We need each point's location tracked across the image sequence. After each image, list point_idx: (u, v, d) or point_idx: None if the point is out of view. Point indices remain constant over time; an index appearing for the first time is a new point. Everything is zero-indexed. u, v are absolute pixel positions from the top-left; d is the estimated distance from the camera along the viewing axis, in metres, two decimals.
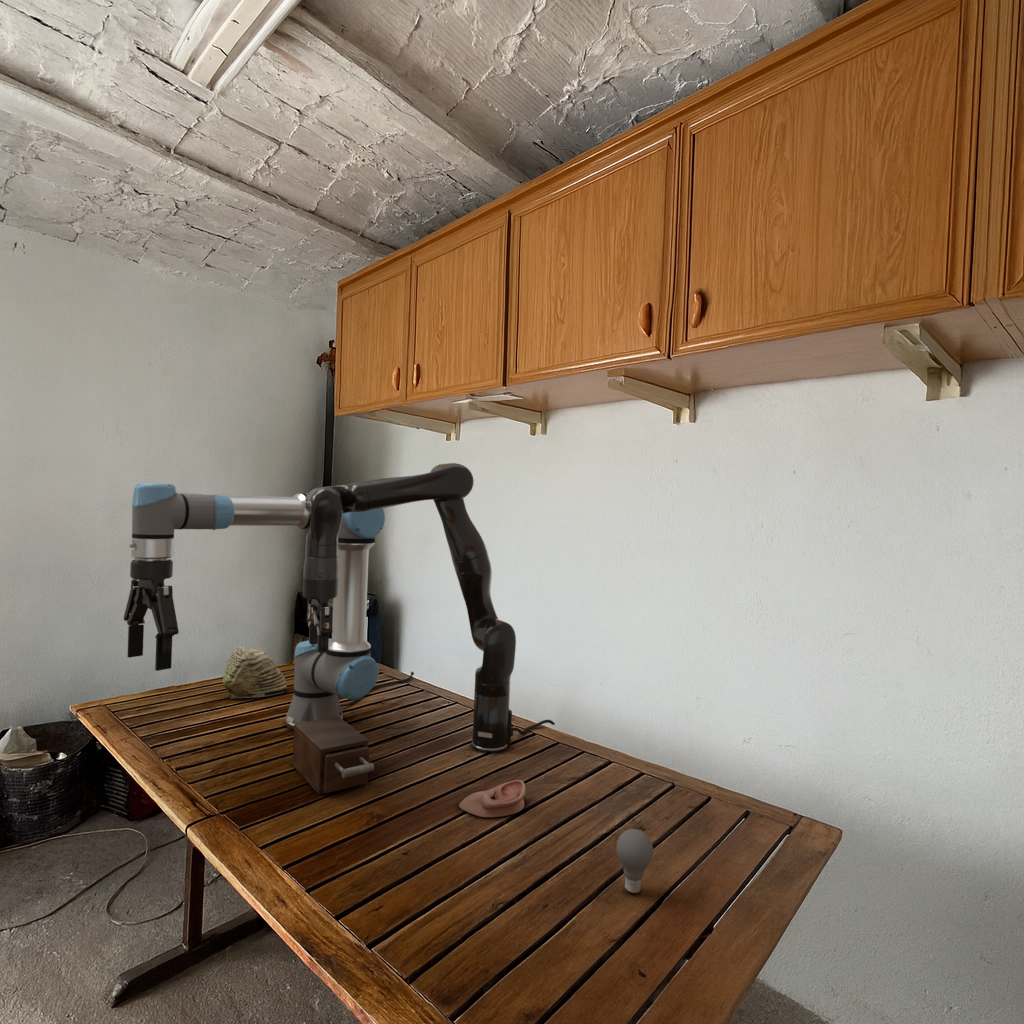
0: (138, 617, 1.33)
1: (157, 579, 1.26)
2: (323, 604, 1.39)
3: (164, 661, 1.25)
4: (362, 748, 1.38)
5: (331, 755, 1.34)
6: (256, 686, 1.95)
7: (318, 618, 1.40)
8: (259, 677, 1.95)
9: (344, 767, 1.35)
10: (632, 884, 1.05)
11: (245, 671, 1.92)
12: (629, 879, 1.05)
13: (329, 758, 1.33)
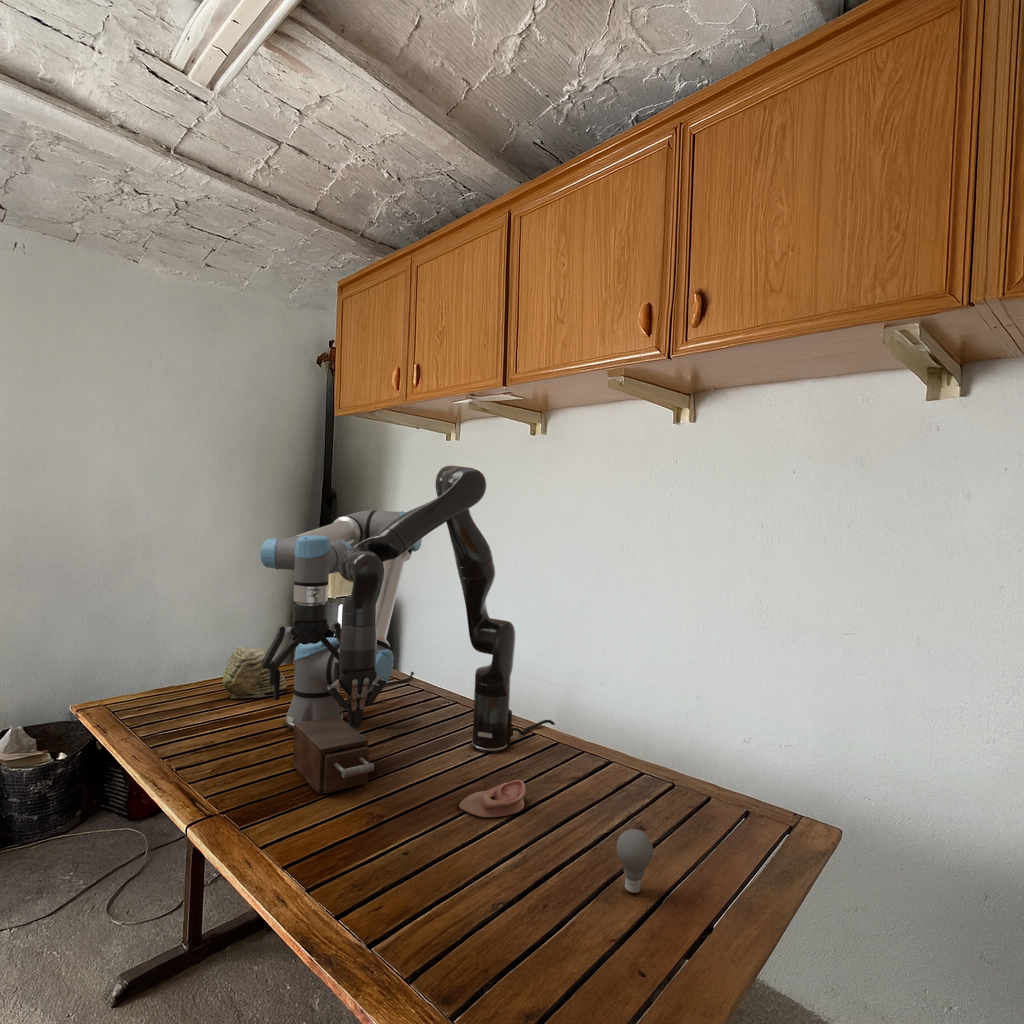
0: None
1: (326, 619, 1.47)
2: (340, 674, 1.31)
3: None
4: (362, 748, 1.38)
5: (331, 755, 1.34)
6: (256, 686, 1.95)
7: None
8: (259, 677, 1.95)
9: (344, 767, 1.35)
10: (632, 884, 1.05)
11: (245, 671, 1.92)
12: (629, 879, 1.05)
13: (329, 758, 1.33)
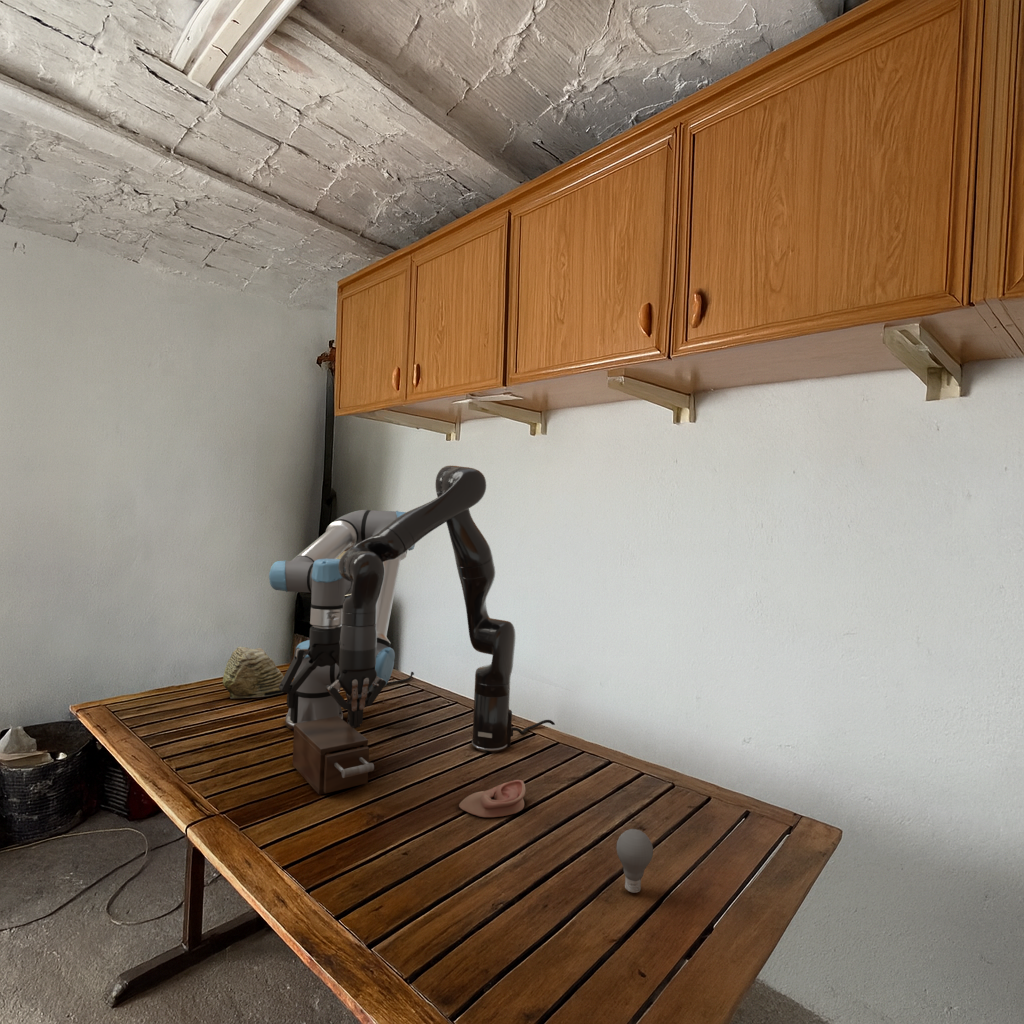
0: None
1: None
2: (340, 674, 1.31)
3: None
4: (362, 748, 1.38)
5: (331, 755, 1.34)
6: (256, 686, 1.95)
7: None
8: (259, 677, 1.95)
9: (344, 767, 1.35)
10: (632, 884, 1.05)
11: (245, 671, 1.92)
12: (629, 879, 1.05)
13: (329, 758, 1.33)
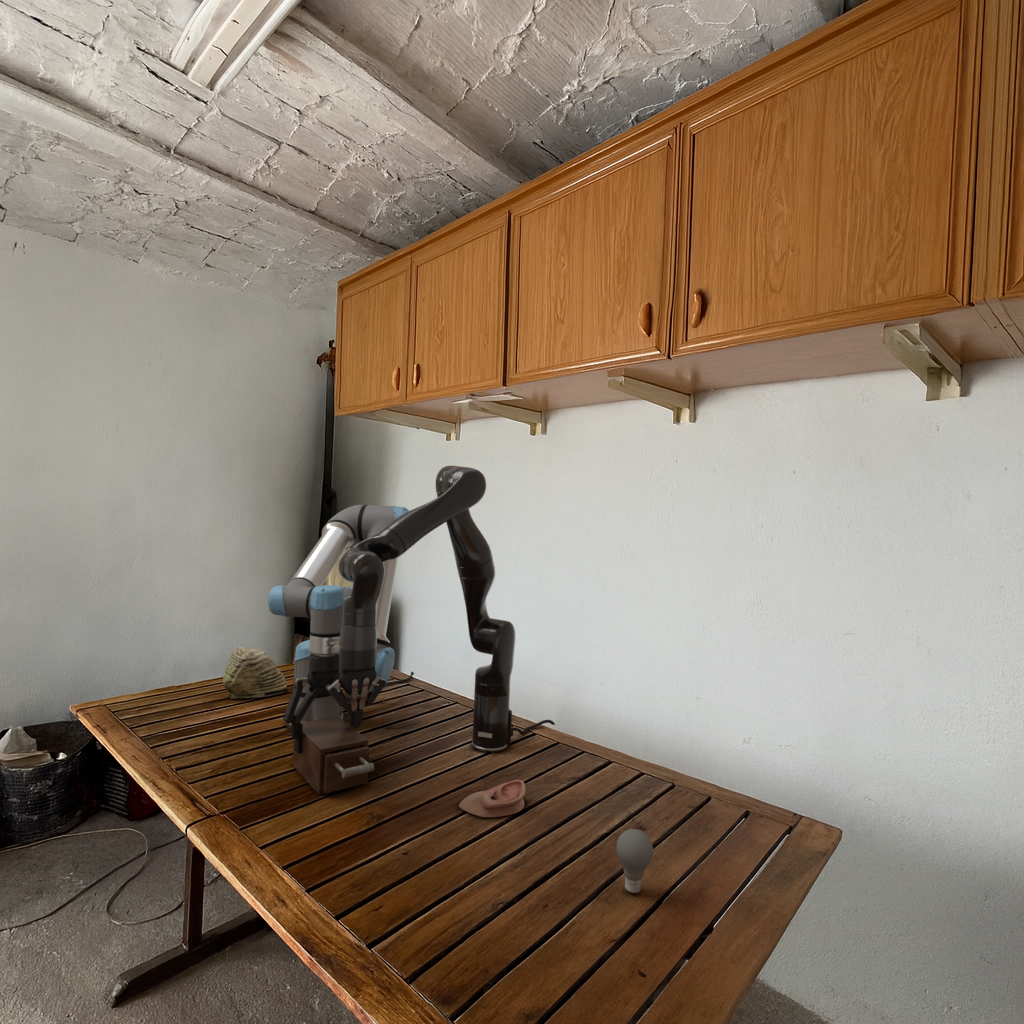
0: None
1: None
2: (340, 674, 1.31)
3: None
4: (362, 748, 1.38)
5: (331, 755, 1.34)
6: (256, 686, 1.95)
7: None
8: (259, 677, 1.95)
9: (344, 767, 1.35)
10: (632, 884, 1.05)
11: (245, 671, 1.92)
12: (629, 879, 1.05)
13: (329, 758, 1.33)
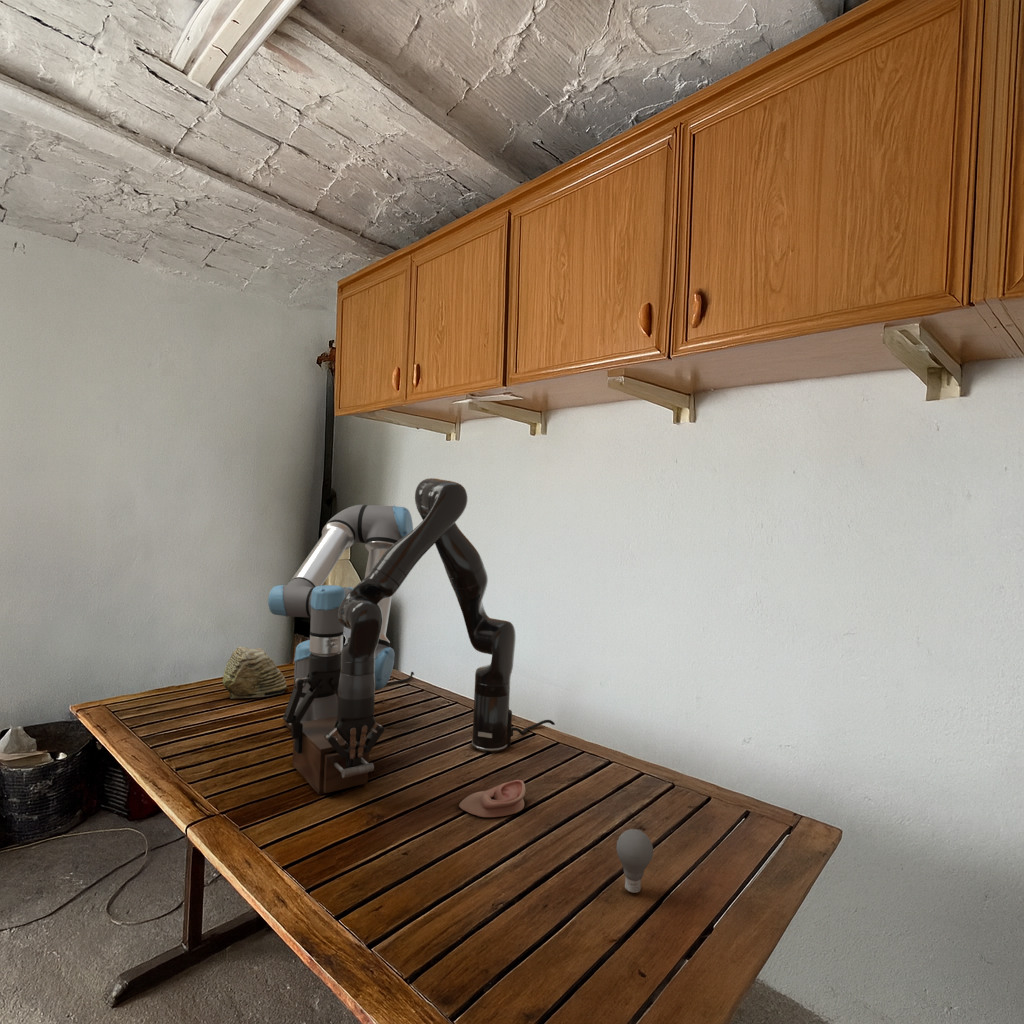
0: None
1: None
2: (338, 722, 1.31)
3: None
4: None
5: (331, 755, 1.34)
6: (256, 686, 1.95)
7: None
8: (259, 677, 1.95)
9: (344, 767, 1.35)
10: (632, 884, 1.05)
11: (245, 671, 1.92)
12: (629, 879, 1.05)
13: (329, 758, 1.33)
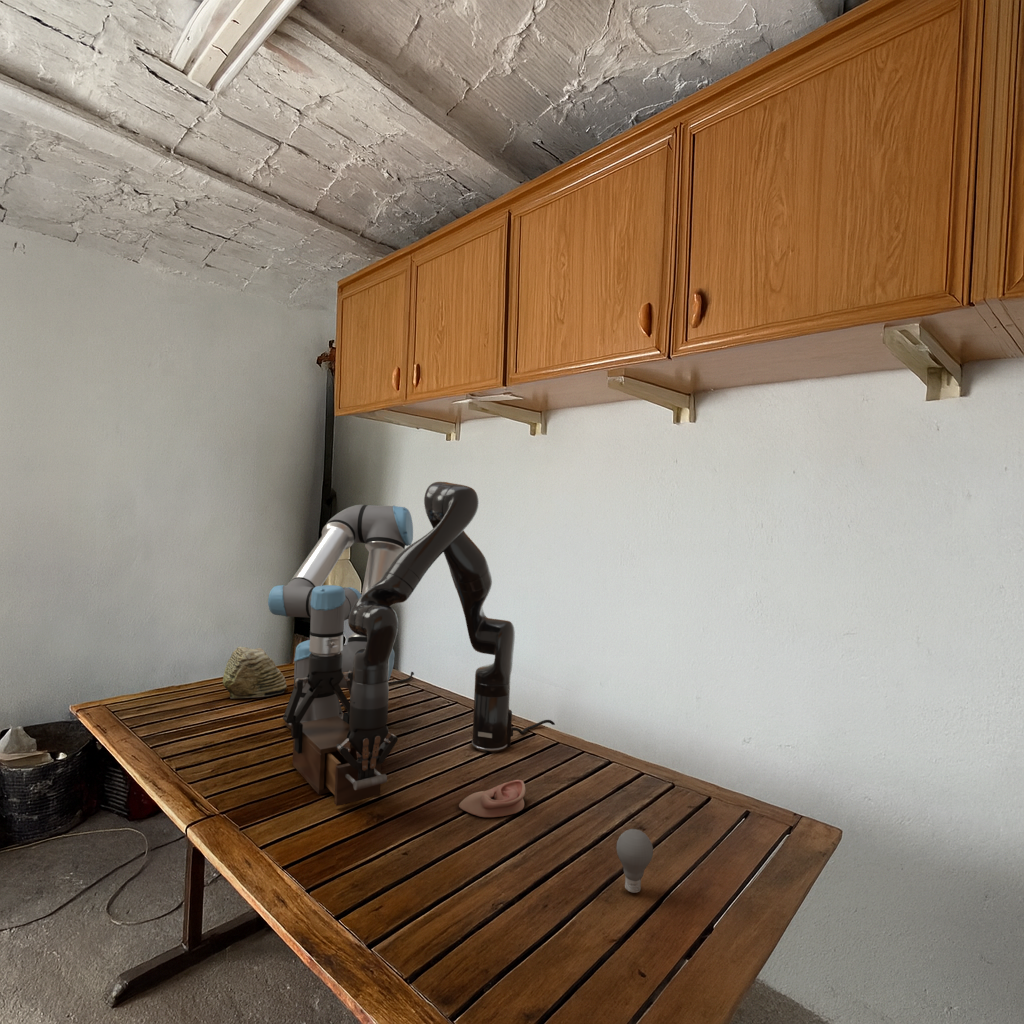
0: None
1: None
2: (350, 732, 1.26)
3: None
4: None
5: (342, 766, 1.29)
6: (256, 686, 1.95)
7: None
8: (259, 677, 1.95)
9: (356, 778, 1.30)
10: (632, 884, 1.05)
11: (245, 671, 1.92)
12: (629, 879, 1.05)
13: (340, 769, 1.28)
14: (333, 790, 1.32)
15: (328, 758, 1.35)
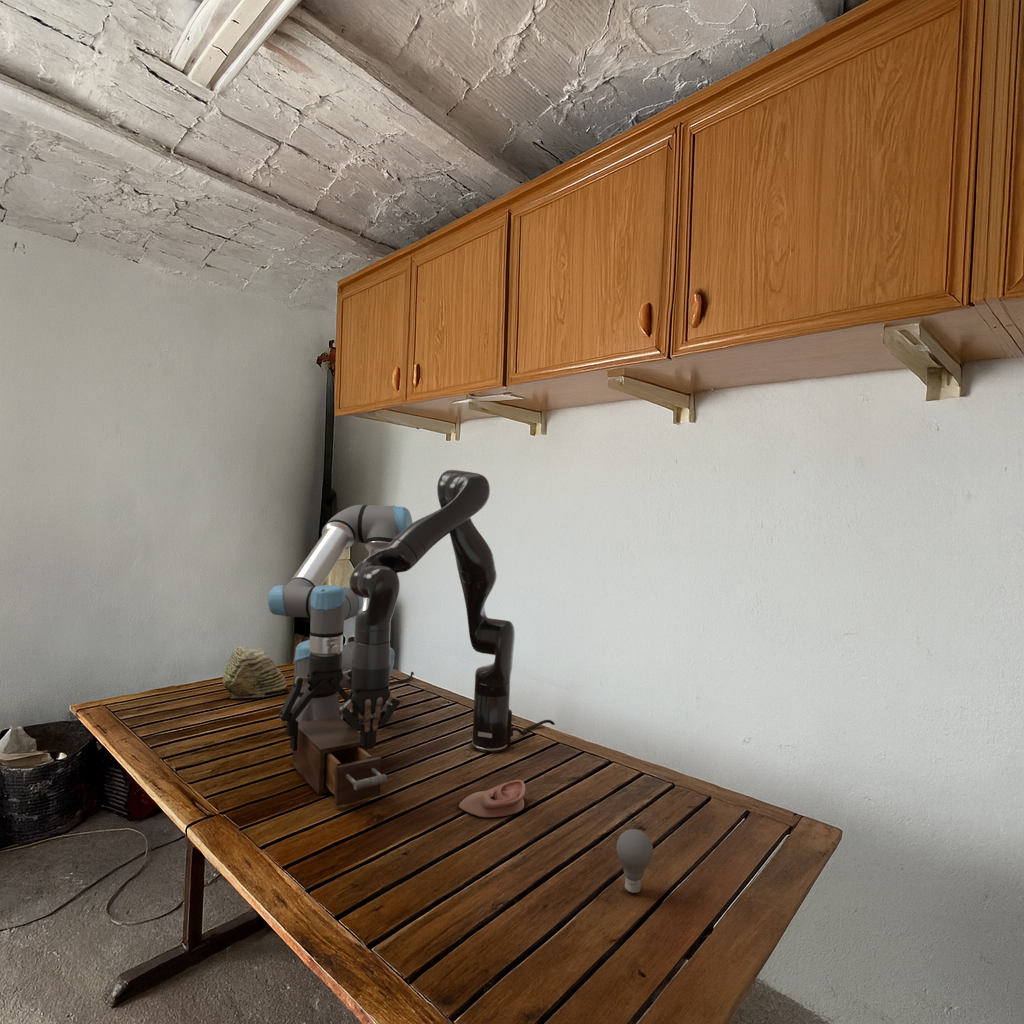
0: None
1: None
2: (352, 694, 1.26)
3: None
4: (374, 758, 1.33)
5: (342, 766, 1.29)
6: (256, 686, 1.95)
7: None
8: (259, 677, 1.95)
9: (356, 778, 1.30)
10: (632, 884, 1.05)
11: (245, 671, 1.92)
12: (629, 879, 1.05)
13: (340, 769, 1.28)
14: (333, 790, 1.32)
15: (328, 758, 1.35)
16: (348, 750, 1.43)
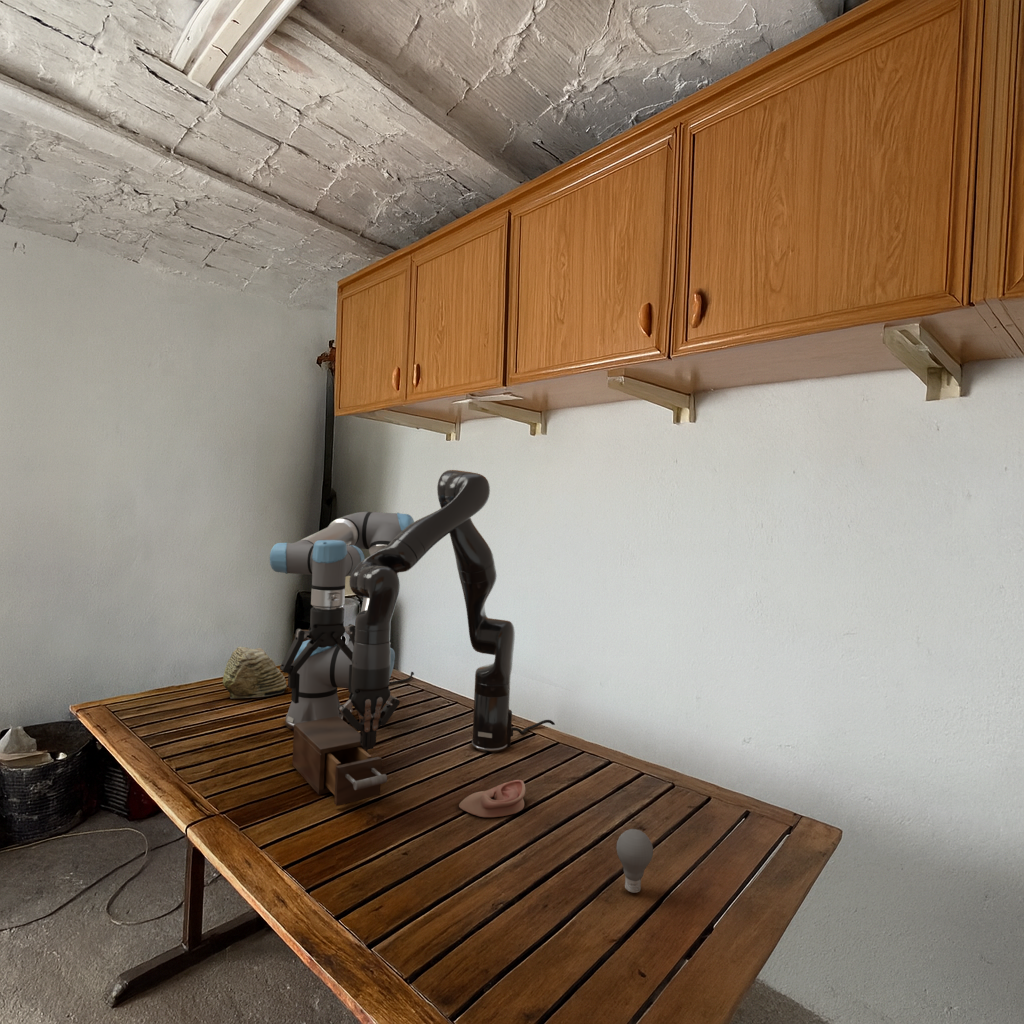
0: None
1: None
2: (352, 694, 1.26)
3: None
4: (374, 758, 1.33)
5: (342, 766, 1.29)
6: (256, 686, 1.95)
7: None
8: (259, 677, 1.95)
9: (356, 778, 1.30)
10: (632, 884, 1.05)
11: (245, 671, 1.92)
12: (629, 879, 1.05)
13: (340, 769, 1.28)
14: (333, 790, 1.32)
15: (328, 758, 1.35)
16: (348, 750, 1.43)
